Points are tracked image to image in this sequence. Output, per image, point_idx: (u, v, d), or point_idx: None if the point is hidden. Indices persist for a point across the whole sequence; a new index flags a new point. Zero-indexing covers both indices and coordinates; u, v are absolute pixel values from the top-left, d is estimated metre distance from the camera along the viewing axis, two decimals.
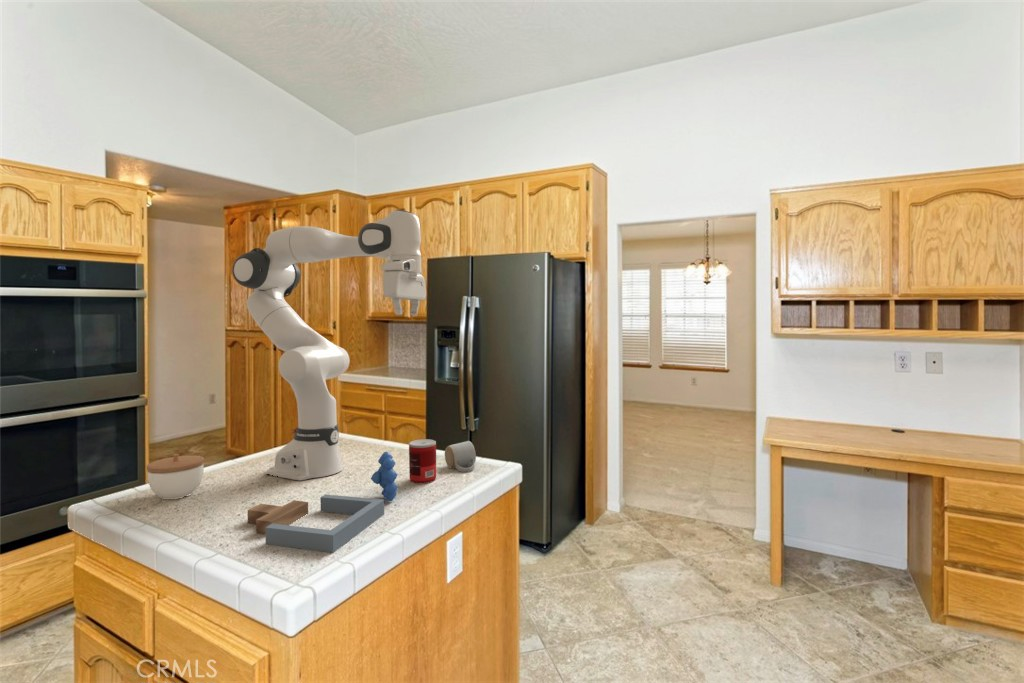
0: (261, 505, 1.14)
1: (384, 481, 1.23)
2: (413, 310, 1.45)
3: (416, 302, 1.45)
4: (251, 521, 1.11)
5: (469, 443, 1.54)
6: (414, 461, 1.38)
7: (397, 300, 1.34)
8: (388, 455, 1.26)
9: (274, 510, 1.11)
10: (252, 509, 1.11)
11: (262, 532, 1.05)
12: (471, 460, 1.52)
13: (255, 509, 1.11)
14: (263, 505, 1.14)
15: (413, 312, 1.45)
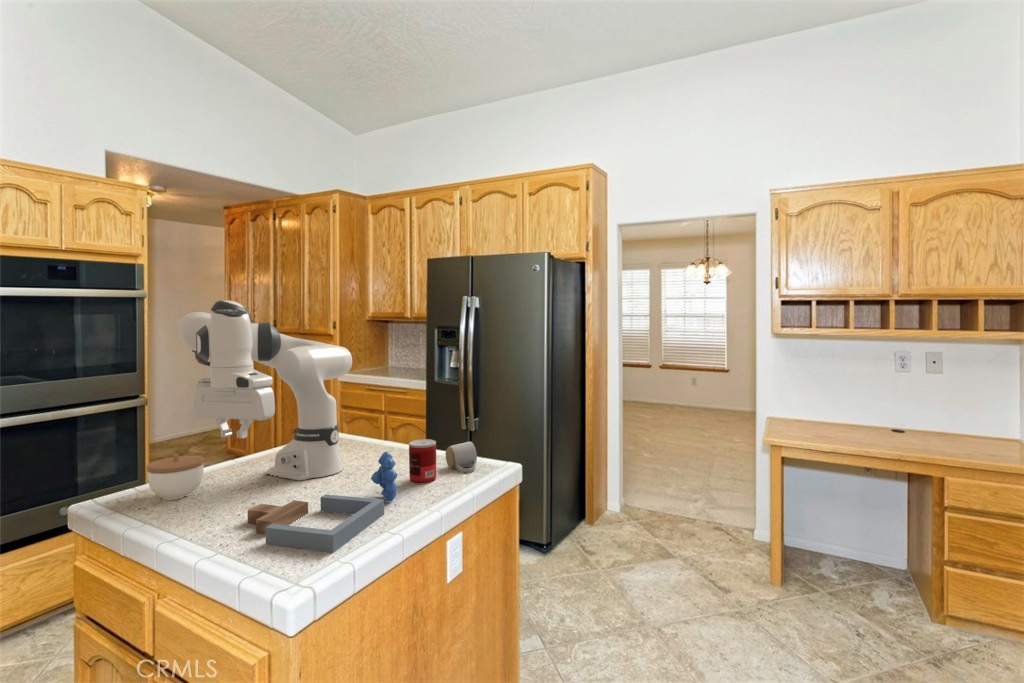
0: (261, 505, 1.14)
1: (384, 481, 1.23)
2: (229, 430, 1.14)
3: (226, 420, 1.15)
4: (251, 521, 1.11)
5: (470, 444, 1.53)
6: (414, 461, 1.38)
7: (249, 420, 1.13)
8: (388, 455, 1.26)
9: (274, 510, 1.11)
10: (252, 509, 1.11)
11: (262, 532, 1.05)
12: (472, 461, 1.51)
13: (255, 509, 1.11)
14: (263, 505, 1.14)
15: (229, 433, 1.14)
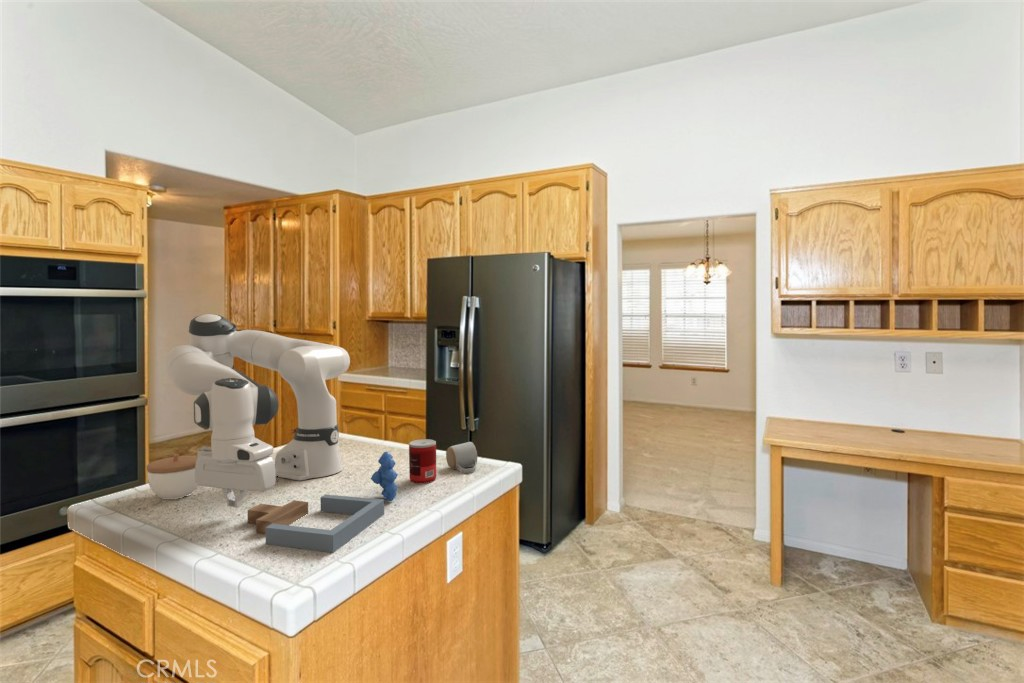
0: (261, 505, 1.14)
1: (384, 481, 1.23)
2: None
3: (232, 488, 1.15)
4: (251, 521, 1.11)
5: (471, 444, 1.53)
6: (414, 461, 1.38)
7: (245, 489, 1.14)
8: (388, 455, 1.26)
9: (274, 510, 1.11)
10: (252, 509, 1.11)
11: (262, 532, 1.05)
12: (473, 461, 1.51)
13: (255, 509, 1.11)
14: (263, 505, 1.14)
15: None
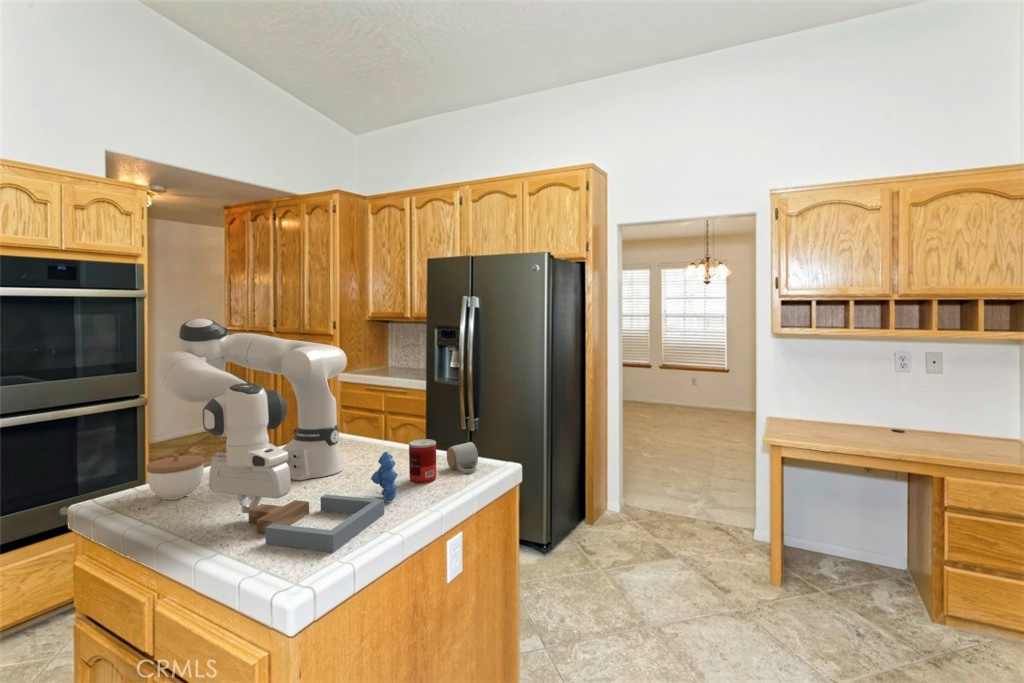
0: (262, 505, 1.14)
1: (384, 481, 1.23)
2: None
3: (247, 495, 1.14)
4: (252, 521, 1.11)
5: (471, 444, 1.53)
6: (414, 461, 1.38)
7: None
8: (388, 455, 1.26)
9: (275, 510, 1.11)
10: (253, 509, 1.11)
11: (263, 532, 1.05)
12: (473, 461, 1.51)
13: (256, 509, 1.11)
14: (264, 505, 1.14)
15: None
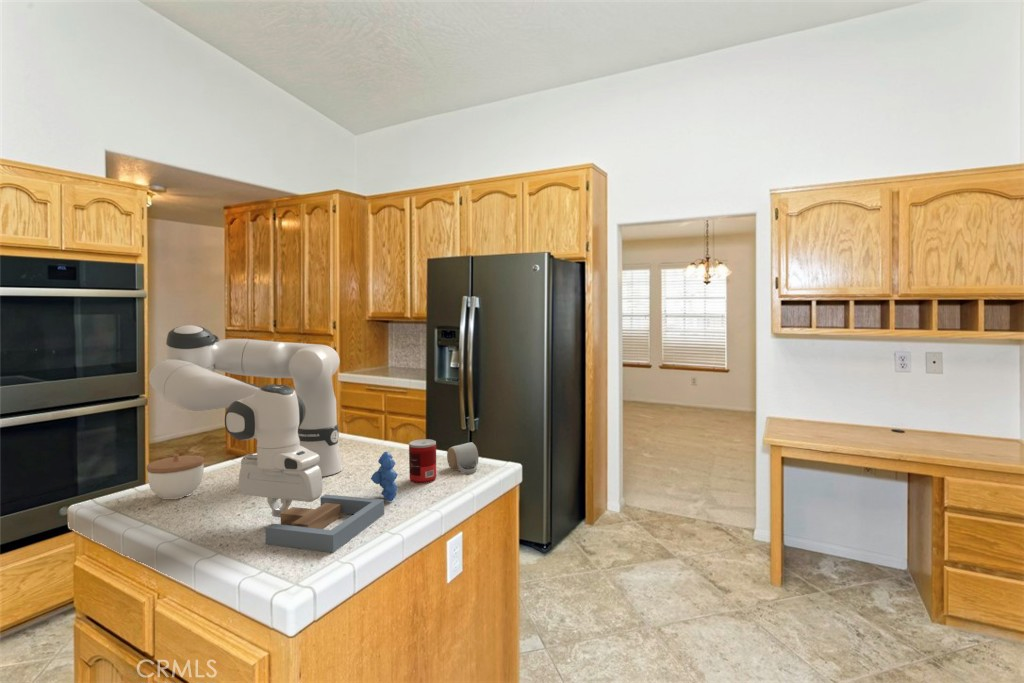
0: (293, 508, 1.12)
1: (384, 481, 1.23)
2: None
3: None
4: None
5: (472, 444, 1.52)
6: (414, 461, 1.38)
7: None
8: (388, 455, 1.26)
9: (308, 513, 1.09)
10: (285, 513, 1.09)
11: None
12: (474, 462, 1.50)
13: (288, 512, 1.09)
14: (295, 508, 1.12)
15: None
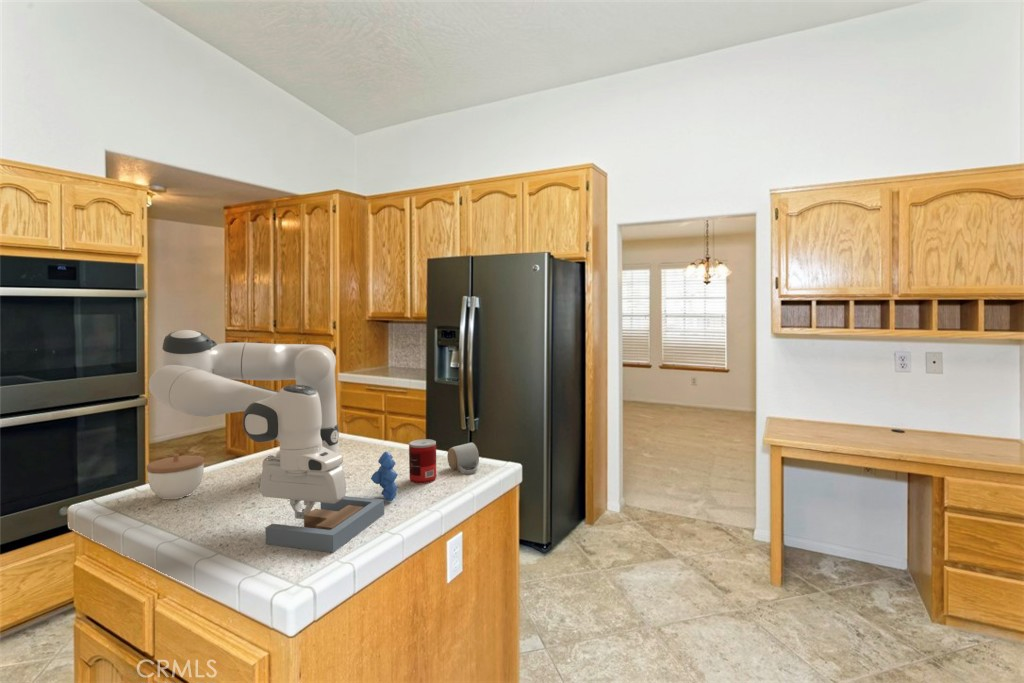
0: (316, 510, 1.10)
1: (384, 481, 1.23)
2: None
3: (300, 499, 1.11)
4: (308, 527, 1.08)
5: (472, 445, 1.52)
6: (414, 461, 1.38)
7: None
8: (388, 455, 1.26)
9: (331, 515, 1.08)
10: (308, 514, 1.08)
11: None
12: (474, 462, 1.50)
13: (311, 514, 1.08)
14: (318, 510, 1.11)
15: None
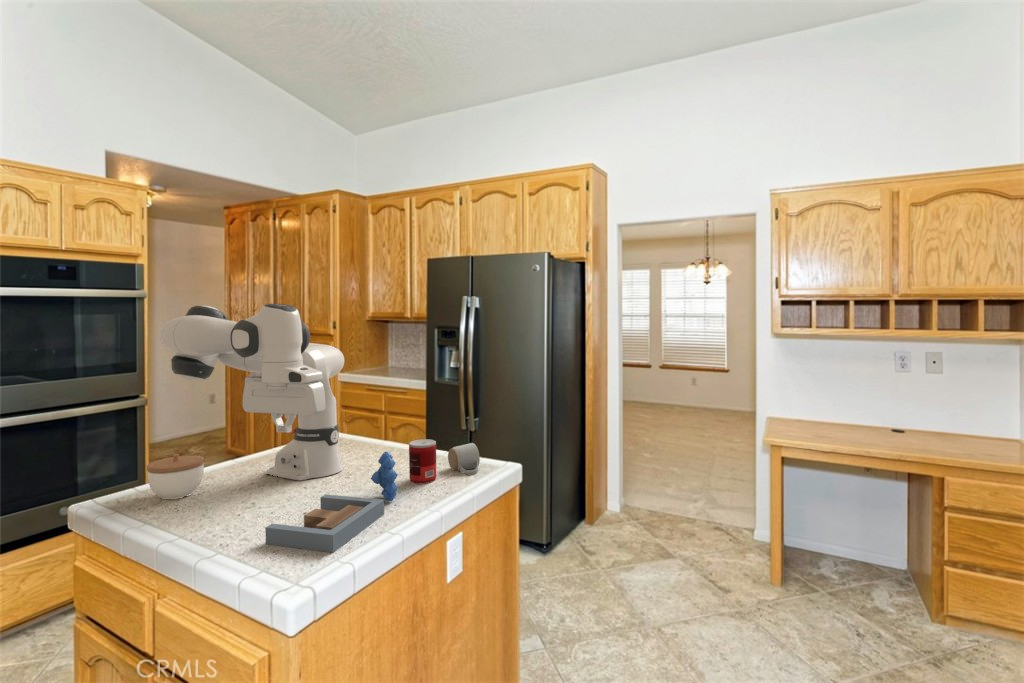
0: (316, 510, 1.10)
1: (384, 481, 1.23)
2: None
3: (281, 415, 1.14)
4: (308, 527, 1.08)
5: (473, 445, 1.52)
6: (414, 461, 1.38)
7: (294, 415, 1.13)
8: (388, 455, 1.26)
9: (331, 515, 1.08)
10: (308, 514, 1.08)
11: None
12: (475, 462, 1.49)
13: (311, 514, 1.08)
14: (318, 510, 1.11)
15: None
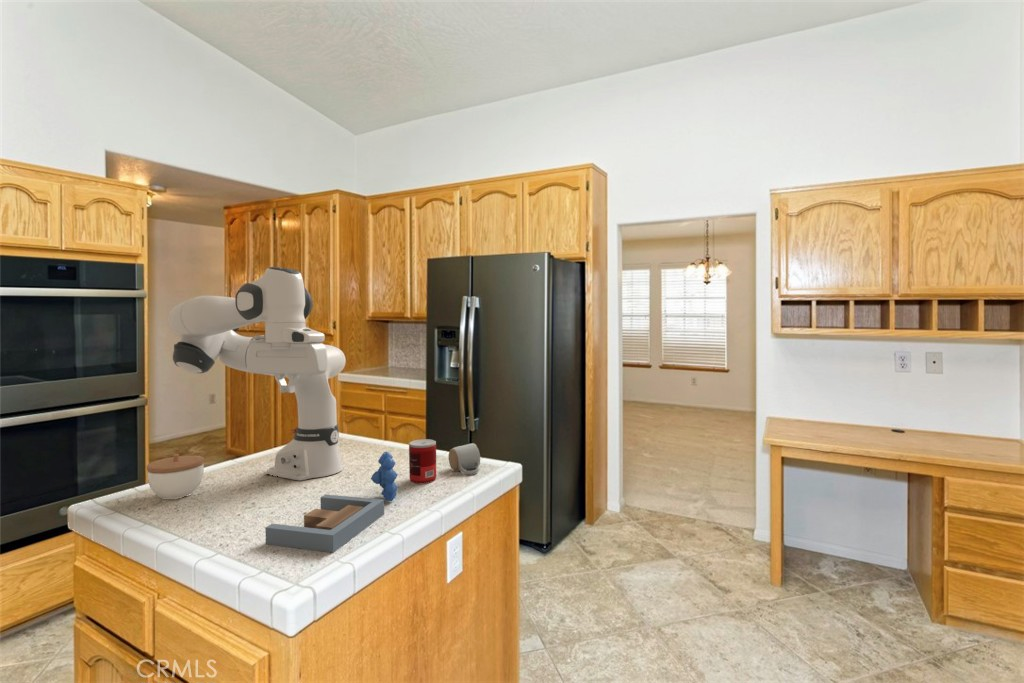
0: (316, 510, 1.10)
1: (384, 481, 1.23)
2: None
3: (284, 376, 1.17)
4: (308, 527, 1.08)
5: (473, 445, 1.51)
6: (414, 461, 1.38)
7: (297, 376, 1.16)
8: (388, 455, 1.26)
9: (331, 515, 1.08)
10: (308, 514, 1.08)
11: None
12: (475, 463, 1.49)
13: (311, 514, 1.08)
14: (318, 510, 1.11)
15: None
